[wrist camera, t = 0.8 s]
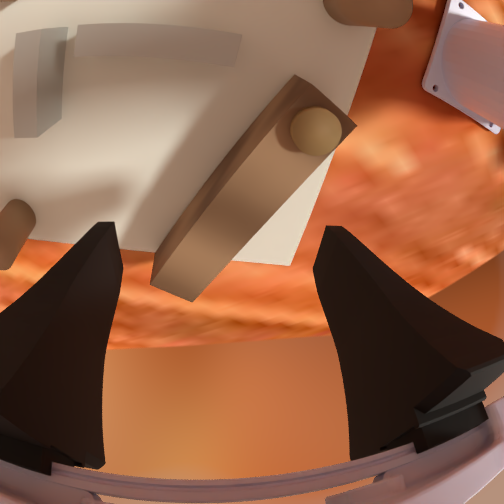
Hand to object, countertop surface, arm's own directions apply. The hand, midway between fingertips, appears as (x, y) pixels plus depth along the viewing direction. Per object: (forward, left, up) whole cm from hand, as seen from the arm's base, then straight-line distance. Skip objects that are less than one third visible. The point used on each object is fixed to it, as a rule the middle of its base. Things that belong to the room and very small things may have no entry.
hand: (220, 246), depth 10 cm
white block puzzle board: (+4, -2, -10) cm, 11 cm away
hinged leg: (-1, +2, -8) cm, 8 cm away
